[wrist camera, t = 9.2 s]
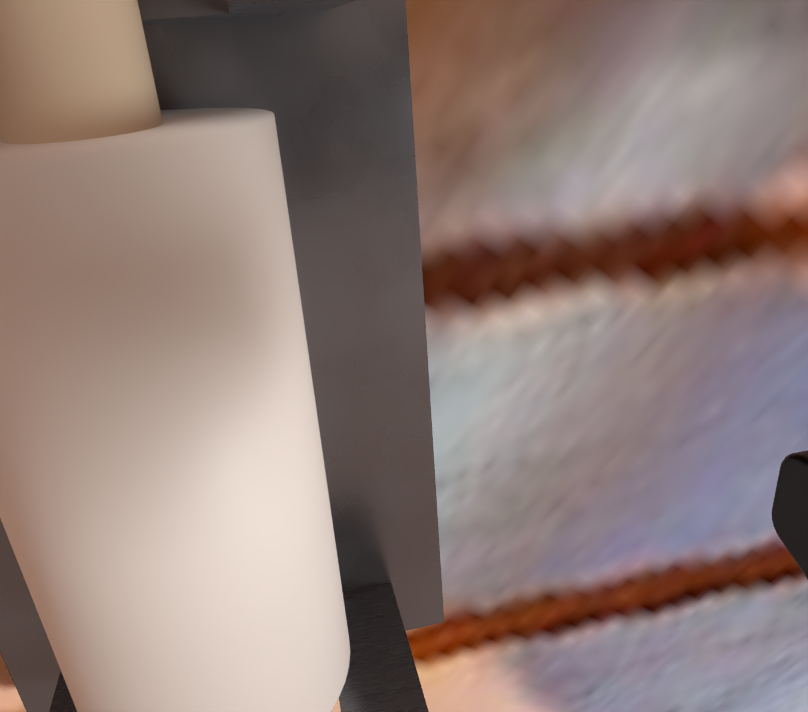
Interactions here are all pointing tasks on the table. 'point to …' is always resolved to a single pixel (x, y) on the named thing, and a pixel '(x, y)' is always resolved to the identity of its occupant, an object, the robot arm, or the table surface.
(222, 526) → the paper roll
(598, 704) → the table surface
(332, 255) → the roll stand
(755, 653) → the table surface
